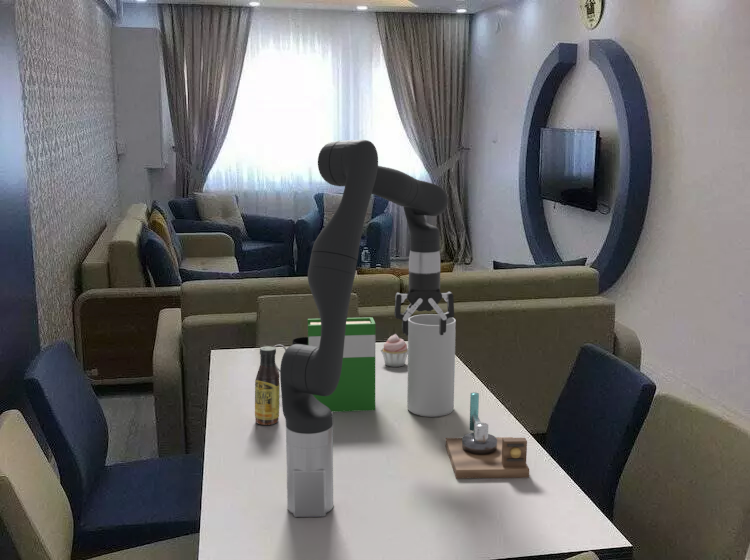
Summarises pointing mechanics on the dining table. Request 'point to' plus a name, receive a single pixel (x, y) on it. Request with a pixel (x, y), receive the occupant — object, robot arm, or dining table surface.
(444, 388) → the cylinder vase
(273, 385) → the sauce bottle
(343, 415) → the dining table surface
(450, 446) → the stand
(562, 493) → the dining table surface
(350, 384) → the hardback book
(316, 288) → the robot arm
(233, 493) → the dining table surface
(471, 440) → the lever
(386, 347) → the cupcake
